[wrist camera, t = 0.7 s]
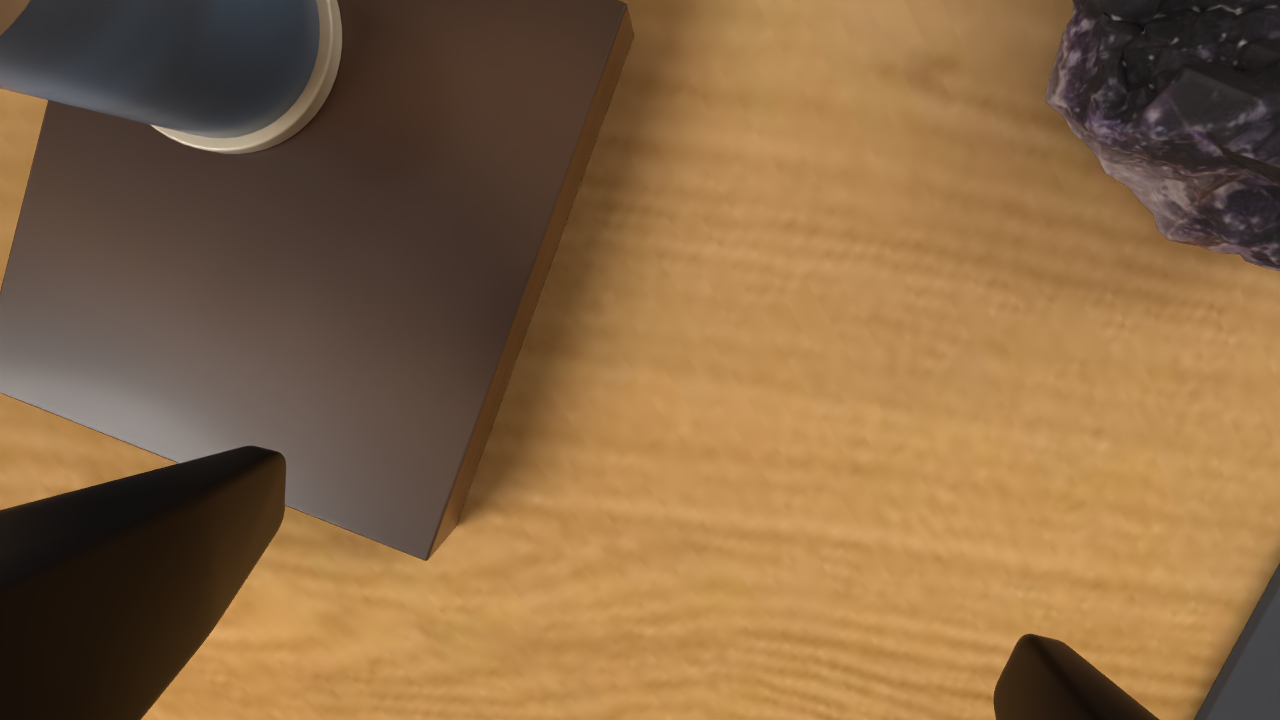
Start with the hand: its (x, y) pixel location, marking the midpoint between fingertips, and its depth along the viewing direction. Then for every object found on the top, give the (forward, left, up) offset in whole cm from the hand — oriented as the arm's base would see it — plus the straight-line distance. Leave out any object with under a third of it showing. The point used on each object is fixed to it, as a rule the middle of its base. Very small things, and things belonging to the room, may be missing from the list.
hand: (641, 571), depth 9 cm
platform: (+1, +11, -13) cm, 17 cm away
